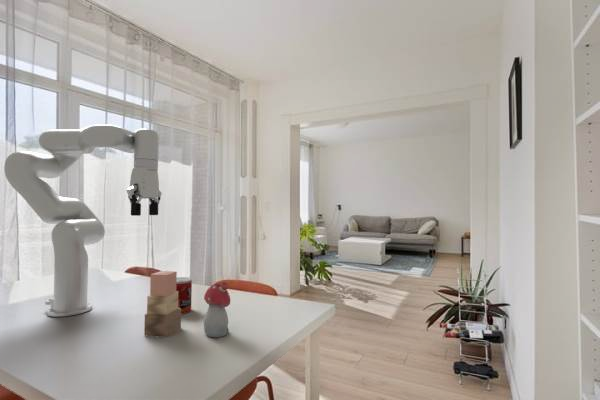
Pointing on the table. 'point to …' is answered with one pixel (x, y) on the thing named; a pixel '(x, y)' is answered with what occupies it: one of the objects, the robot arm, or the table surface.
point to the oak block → (162, 304)
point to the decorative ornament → (216, 310)
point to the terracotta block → (163, 283)
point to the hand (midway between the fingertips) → (145, 215)
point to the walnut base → (162, 324)
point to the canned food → (184, 293)
